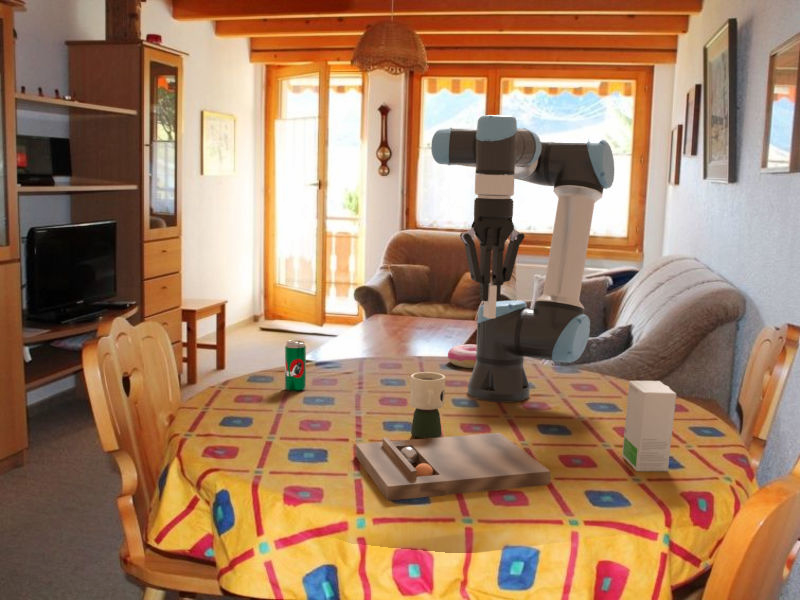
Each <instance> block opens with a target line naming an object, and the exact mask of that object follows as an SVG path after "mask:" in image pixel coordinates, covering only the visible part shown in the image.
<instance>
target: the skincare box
mask: <svg viewBox="0 0 800 600" xmlns="http://www.w3.org/2000/svg"><path fill="white" fill-rule="evenodd" d="M676 401H677V392H675V391H674V390H672V389H671V388H670V386H668V385H666V384H664V383H663V382H662V381H661V380H629V381H628V393H627V403H626V404H627V405H626V413H625V422H624V423H625V424H624V432H623V433H624V434H623V435H624V436H623V444H622V451H621V452H622V454H621V455H622V458H624V459H625V460H626V462H627V463H628V465H630V466H631V467H632V468H633V469H634V470H635V471H636V472H669V466H670V465H669V463H670V457H671V456H670V454H671V448H672V447H671V446H672V437H673V436H672V435H673V427H674V421H675V420H674V419H675V412H676V411H675V409H676Z"/></svg>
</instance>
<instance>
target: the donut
mask: <svg viewBox="0 0 800 600" xmlns="http://www.w3.org/2000/svg"><path fill="white" fill-rule="evenodd" d="M476 348H477V344H473V343H472V344H471V343H469V344H468V343H467V344H460V345H455V346H452V347H451V348H450V349H449V350H448V353H447V358H448V361H449V362H450V363H451V364H452V365H454V366H456V367H460V368H464V369H474V367H475V364H476Z"/></svg>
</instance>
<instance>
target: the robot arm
mask: <svg viewBox="0 0 800 600" xmlns="http://www.w3.org/2000/svg"><path fill="white" fill-rule="evenodd" d="M430 149H431V155H432V158H433V160H434V161H435V162H436V163H437V164H439V165H445V166H446V165H448V166H463V167H471V168H475V172H474V175H475V177H474V194H475V195H476V196H477V197H476V198H475V199H474V200H473V201H474V202H473V203H474V204H473V217H474V218H473V221H472V223H471V227H470V229H468V230H467V231H466V232H461V233H460V235H459V237H460V239H461V241H462V242H463V244H464V248H465V253H466V259H467V263H468V269H469V275H470V279H471V280H472V281H474V282H476V283H479V299H480V301H482V302H483V304H482V305H481V306H479V308H478V310H477V311H478V313H477V321H476V345H477V348H476V364H475V367H474V368H472V369H473V370H472V371H471V375H470V378H469V380H468V383H467V394H468V395H469V396H470V397H472V398H474V399H478V400H480V401H481V400H483V401H487V402H493V403H494V402H497V403H511V402H512V403H513V402H520V401H524V400H527V399H528V398H529V397H530V384H529V379H528V377H527V374H526V370H525V366H524V365H525V364H524V361H525V360H524V358H532V359H538V360H545V361H552V362H554V363H560V362H561V363H568V364H569V363H574V362H575V361H578V359H579V358H581V356H582V354H583V353H584V351H585V349H586V347H587V344H588V340H589V337H590V332H591V328H590V327H591V320H590V318H589V316H588V315H586V314H585V307H584V306H583V304H582V303H581V302H580V297H581V291H582V284H583V278H584V272H585V271H584V270H585V265H586V259H587V253H588V247H589V241H590V233H591V228H592V222H593V221H592V220H593V213H594V209H595V203H596V202H597V201H599V200H600V199H602V197H603V193H604V190H608V189H610V188H611V187H612V186H613V183H614V179H615V161H614V155H613V151H612V148H611V145H610V144H609V143H608V142H607V140H605V139H601V138H591V137H587V138H585V137H584V138H581V137H580V138H578V137H577V138H574V137H573V138H570V137H569V138H566V137H565V138H563V137H562V138H560V137H558V138H553V137H548V138H540V136H538V134H537V133H536V132H535V131H533V130H530V129H528V128H525V127H523V128H518V126H517V118H516V117H515V116H513V115H505V114H504V115H503V114H496V115H495V114H494V115H493V114H488V115H487V114H485V115H481V116H480V117H479V118H478V120H477V127H476V128H452V127H449V128H440V129H437V130H436V131H435V132H434V134H433V136H432V138H431V147H430ZM515 180H519V181H523V182H526V183H531V184H535V185H538V186H546V187H553V192H554V194H555V196H557V198H558V200H557V205H556V206H557V207H556V212H555V217H554V218H555V219H554V224H553V230H552V236H551V243H550V248H549V254H548V255H549V256H548V261H547V267H546V273H545V278H544V279H545V280H544V286H543V292H542V294H541V296H539V297H538V298H537V299H535V302H534V307H533V308H528V304H527V302H526V301H524V300H517V299H516V300H512V299H511V300H500V299H501V294H502V293H501V290H502V286H503V285H504V283H506V282H510V281H511V280H512V275H513V271H514V268H515V263H516V260H517V257H518V256H517V255H518V253H519V248H520V245H521V244H522V242H523V240H524V239H525V234H524V233H522V232H519V231H518V230H516V229H515V224H514V222H513V215H514V200H513V198H511V197H512V196H514V195H515ZM508 238H509V242H508V246H507V249H506V253H505V257H504V251H505V245H506V244H505V243H506V242H507V240H508ZM475 239H477V240H478V242H479V249H480V257H479V258H480V259H478V253H477V248H476V244H475V242H474V241H475ZM491 258H492V259H491Z"/></svg>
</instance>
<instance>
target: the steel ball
mask: <svg viewBox="0 0 800 600" xmlns="http://www.w3.org/2000/svg"><path fill="white" fill-rule="evenodd" d="M400 452H401V453H402V454H403V456H404V457H405V458H406V459H407V460H408V461H409V462H410V464H411V465H412V466H413V464H414V463H416V462H415V461H416V459H417V453H416V451H415V450H414V449H413V448H412V447H405V448H403V449H402V450H401V451H400Z"/></svg>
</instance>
